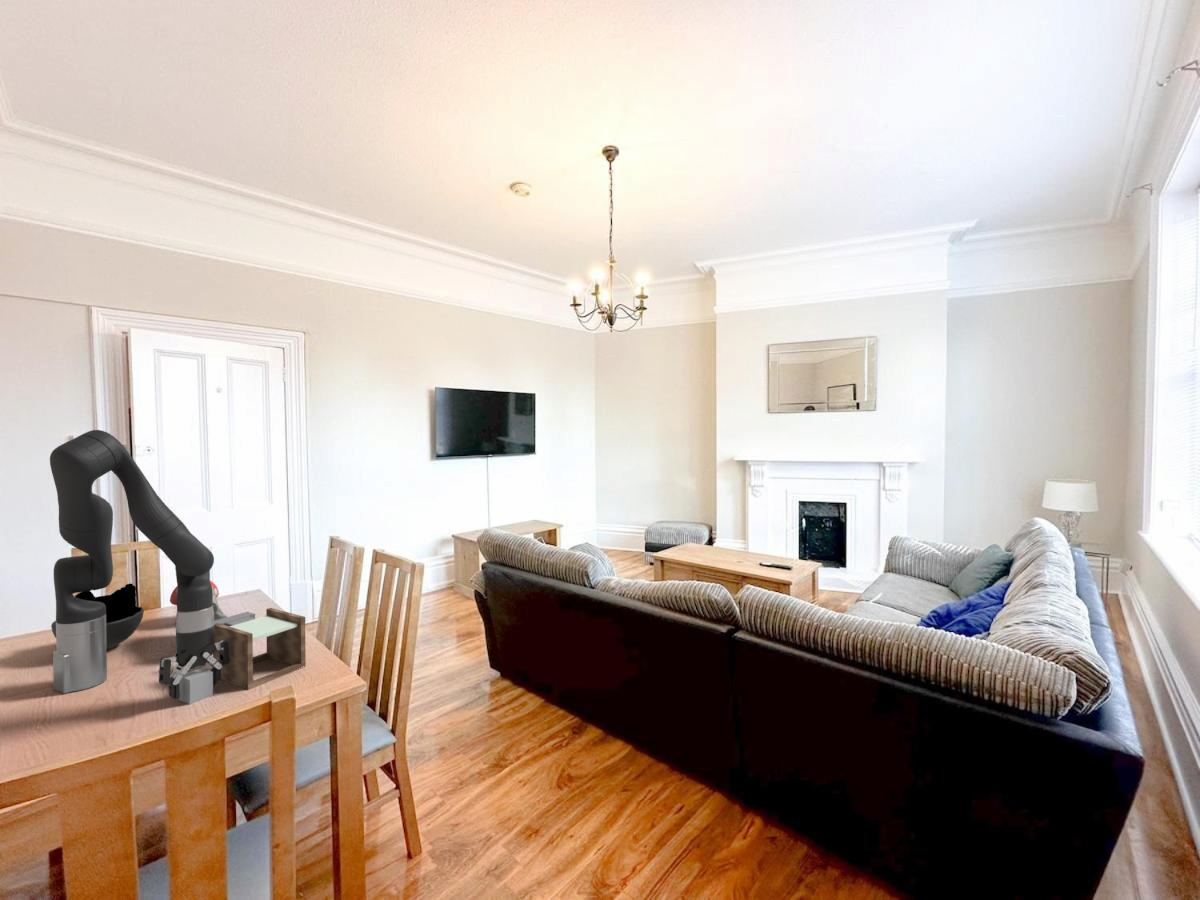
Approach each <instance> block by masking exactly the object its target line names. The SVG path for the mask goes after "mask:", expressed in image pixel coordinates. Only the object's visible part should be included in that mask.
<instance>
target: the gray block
mask: <svg viewBox="0 0 1200 900" xmlns="http://www.w3.org/2000/svg"><path fill="white" fill-rule="evenodd" d="M179 684H180V698H179V699H178V700H179V701H181V702H183V703H186V704H188V705H192V704H195V703H198V702H200V701H203V700H206V699H208V698H210V697H212V696H214V684H213V672H212V671H211V670H208V669H207V668H203V667H200V668H197V669H196V668H195V669H193V670H192V671H187V673H186V674H185V675H184V676H183V677H182V678H181V680H180V681H179Z"/></svg>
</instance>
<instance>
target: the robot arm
mask: <svg viewBox="0 0 1200 900" xmlns="http://www.w3.org/2000/svg"><path fill="white" fill-rule="evenodd" d="M49 465H50V471H51V474H52V478H53V482H54V485H55V489H56V493H57V494H56V495H57V503H58V529H59V530H58V531H59V534H60V536H61V538H62V539H63V540H64V541H65V542H66V543H68V544H69V545H71V547H74V548H75V549H76V550H79V551H81V552H83V553H84V554H86V555H76V556H66V557H62V558H59V559H57V560H56V561H55V563H54V567H53V585H54V593H55V594H54V596H55V621H56V638H55V640H56V641H55V645H56V646H55V647H56V650H53V652H52V667H53V668H52V671H53V672H52V674H53V675H52V676H53V677H52V679H53V681H52V683H53V689H54V690H55V691H58V692H60V694H63V695H64V694H67V693H71V692H72V693H73V692H79V691H82V690H86V689H90V688H93V687H96V686H98V685H101V684H102V683H104V682H105V681H107V679H108V660H107V659H108V657H107V652H108V651H107V650H108V649H107V644H106V606H105V604H104V603H102V602H96V601H87V600H82V599H79V598H76V597H75V595H74V594H76V593H77V594H78V593H80V592H85V591H90V592H92V591H98V590H101V589H105V588H107V587H109V585H110V584H111V582H112V581H113V575H114V565H113V554H112V553H113V552H112V536H113V535H112V534H113V525H114V524H113V523H114V510H113V508H112V504H110V502H108V501H107V500H106V498H103V497H102V496H100V495H98V494H96V493H93V484H94V483H95V481H96V480H97V479H98V478H100V477H103V476H104V475H105V474H108V473H109V472H113V474H114V475H115V476H116V477H117V478H118V480H119V481H120V483H121V485H122V487H123V489H124V492H125V496H126V501H127V506H128V510H129V511H128V512H129V515H130V518H131V521H132V522H133V524H134V526H135V527H136V528H137V529H138V530H139V531H140V532H141V534H143V535H144V536H145V538H147V539H148V540H149V541H150V542H151V543H153V545H154V546H156V547H157V548H159V549H160V550H161V551H162V553H164V554H165V556H166V557H167V558H168V559H169V560H170V561H171V562H172V564H173V565H174V567H175V568H174V569H175V578H176V584H177V585H176V587H177V586H178V589H177V605H176V616H175V626H174V629H175V649H176V653H175V655H174V656H170V657H167V658H166V656H165V657H161V658H160V659H159V671H158V683H159V684H161V685H163V686H168V696H169V697H170V698H172V700H173V699H174V700H179V698H180V684H179V681H180V680H181V678H182V677H183V676H184V675H185V674H186V673H188V672H189V670H192V671H193V670H195V669H196V668H198V667H203V666H206V664H208V665H209V666H211V667H212V668H210V671H212V672H213V686H217V685H219V683H220V682H221V680H222V679H221V668H222V666H224V665H225V664H228V663H229V662H230V657H229V644H228V642H227V641H225V640H219V641H218V643H215V644H214V610H213V591H212V586H211V583H210V581H211V580H210V579H211V578H210V577H211V576H210V575H211V569H212V568H213V566H214V563H215V557H214V555H213V552H212V551H211V550H210V548H208V547H207V546H205V545H204V544H203V543H202V542H201V541H200V540H199V539H198V538H197V537H196V536H195V535H194V534H193V533H191V532H190V530H189V529H188V527H187V526H186V524H184V522H183V521H182V520H181V519H180V518H179V517H178V516H177V515H176V514H175V512H173V510H171V509H170V508H169V506H167V505H166V503H165V502H164V501H163V499H162V498H161V497H160V496H159V495H158V494H157V492H156V491H155V489H154V488H153V486H152V484H151V483H150V482H149V480H148V479H147V478H146V476H145V474H144V473H143V471H142V470H141V468H140V467H139V466H138V464H137V462H136V461H135V460H134V459H133V457H132V455H131V454H130V453H129V451H128V450H127V449H126V447H125V445H123V444H122V442H120V441H119V440H118V438H116V437H115V436H114V435H112V434H111V433H110V432H107V431H104V430H100V429H92V430H89V431H86V432H85V433H82V434H80V435H78V436H76V437H75V438H73V439H70V440H68V441H66V442H65V443H62V444H60V445H59V446H57V447H55V448H54V449H53V450H52V451H51V453H50V456H49ZM215 649H217V650H219V661H217V660H216V659H215V658H214V657H213V653H214V651H215ZM175 662H176V663H177V664H176V665H175V666H174V664H175ZM173 666H174V668H173V671H172V669H171V668H172V667H173ZM171 671H172V672H171Z"/></svg>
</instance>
